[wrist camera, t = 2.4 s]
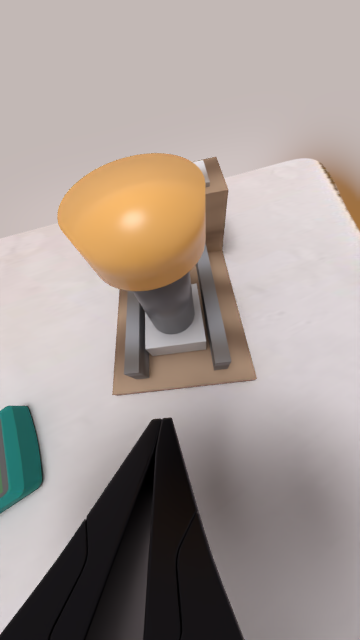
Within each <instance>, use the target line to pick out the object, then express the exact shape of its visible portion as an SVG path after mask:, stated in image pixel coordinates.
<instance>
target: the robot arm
mask: <svg viewBox="0 0 360 640" xmlns="http://www.w3.org/2000/svg"><path fill="white" fill-rule="evenodd" d="M0 640H244V638H243V635H242V633H241V630H240V627H239V625H238V622H237V620H236V617H235V615H234V612H233V609H232V607H231V604H230V602H229V599H228V597H227V594H226V592H225V589H224V586H223V584H222V581H221V578H220V576H219V573H218V570H217V567H216V565H215V562H214V559H213V556H212V553H211V550H210V547H209V544H208V541H207V537H206V534H205V531H204V528H203V524H202V521H201V517H200V514H199V511H198V507H197V504H196V500H195V497H194V493H193V490H192V486H191V483H190V479H189V476H188V472H187V469H186V465H185V462H184V458H183V455H182V451H181V448H180V445H179V441H178V438H177V434H176V431H175V427H174V424H173V420H172V418H163V419H153V420H152V421H151V422H150V423H149V425H148V426H147V428H146V429H145V431H144V432H143V434H142V435H141V437H140V438H139V440H138V441H137V443H136V444H135V446H134V447H133V449H132V450H131V452H130V453H129V455H128V456H127V458H126V459H125V460H124V462H123V463H122V465H121V466H120V468H119V469H118V471H117V472H116V474H115V475H114V477H113V478H112V480H111V481H110V483H109V484H108V486H107V487H106V489H105V490H104V492H103V493H102V495H101V496H100V498H99V499H98V500H97V502H96V503H95V505H94V506H93V508H92V509H91V511H90V512H89V514H88V515H87V520H86V519H85V520H84V521H83V523H82V524H81V526H80V527H79V528H78V530H77V531H76V533H75V534H74V536H73V537H72V539H71V540H70V542H69V543H68V544H67V546H66V547H65V549H64V550H63V552H62V553H61V554H60V556H59V557H58V559H57V560H56V562H55V563H54V564H53V566H52V567H51V568H50V570H49V571H48V572H47V574H46V575H45V576H44V578H43V579H42V580H41V582H40V583H39V584H38V586H37V587H36V588H35V590H34V591H33V592H32V594H31V595H30V596H29V598H28V599H27V600H26V602H25V603H24V604H23V606H22V607H21V608H20V609H19V611H18V612H17V613H16V615H15V616H14V617H13V619H12V620H11V621H10V623H9V624H8V625H7V626H6V628H5V629H4V630H3V632H2V633H1V634H0Z"/></svg>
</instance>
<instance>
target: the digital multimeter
mask: <svg viewBox="0 0 360 640" xmlns="http://www.w3.org/2000/svg"><path fill="white" fill-rule="evenodd" d="M41 483H42V472H41V462H40V454H39V446H38V441H37V436H36V432H35V428H34V424H33V421H32V418H31V415H30V412H29V409H28V407H27V406H7V407H5V408H4V409H2V410H1V411H0V513H2V512H3V511H5V510H6V509H8V508H9V507H11V506H12V505H14V504H15V503H17V502H18V501H20V500H21V499H23V498H24V497H26V496H27V495H29V494H30V493H32V492H33V491H35V490H36V489H38V488H39V487H40V485H41Z"/></svg>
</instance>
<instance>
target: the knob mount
mask: <svg viewBox="0 0 360 640" xmlns="http://www.w3.org/2000/svg"><path fill="white" fill-rule="evenodd" d="M193 163H194V164H195V165H196V166H197V167H199V169H200V170H201V171H202V173H203V175H204V178H205V214H206V240H205V247H204V251H203V253H202V256H201V258H200V259H199V261H198V262H197V264H196V265H195V266H194V267H193V268H192V269H191V270H190V278H191V284H196V283H197V289H198V295H199V301H200V307H201V313H202V319H203V325H204V331H205V337H206V350H198V351H190V352H182V353H174V354H166V355H158V356H152V355H151V354H150V353H149V352H148V351H147V350H146V349H145V311H144V309H143V307H142V306H141V304H140V303H139V301H138V300H137V298H136V296H135V295H134V293H133V292H132V291H126V290H122V289H120V292H119V307H118V321H117V336H116V350H115V365H114V379H113V394H112V395H126V394H135V393H144V392H153V391H162V390H171V389H180V388H189V387H197V386H206V385H215V384H224V383H233V382H242V381H251V380H255V379H257V378H256V374H255V370H254V367H253V363H252V359H251V355H250V352H249V348H248V344H247V341H246V337H245V333H244V330H243V326H242V322H241V318H240V315H239V311H238V307H237V304H236V300H235V296H234V293H233V289H232V285H231V282H230V278H229V274H228V270H227V267H226V263H225V259H224V256H223V252H222V246H223V236H224V226H225V216H226V207H227V197H228V188H227V185H226V182H225V180H224V177H223V174H222V172H221V169H220V166H219V163H218V161H217V158H216V157H213V158H208V159H204V160H199V161H194V162H193Z"/></svg>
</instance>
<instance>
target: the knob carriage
mask: <svg viewBox="0 0 360 640" xmlns="http://www.w3.org/2000/svg"><path fill="white" fill-rule="evenodd" d="M58 224H59V226H60V228H61V230H62V231H63V233H64V234H65V235H66V236H67V238H68V239H69V240H70V241H71V243H72V244H73V245H74V246H75V247H76V249H77V250H78V251H79V252H80V254H81V255H82V256H83V257H84V259H85V260H86V261H87V262H88V263H89V265H90V266H91V267H92V268H93V270H94V271H95V272H96V273H97V274H98V276H99V277H100V278H101V279H102V280H103V281H104V282H106V283H107V284H109V285H110V286H113V287H115V288H118V289H122V290H126V291H132V292H133V293H134V295H135V296H136V298H137V300H138V301H139V303H140V304H141V306H142V307H143V309H144V311H145V349H146V350H147V351H148V352H149V353H150V354H151V355H152V356H158V355H166V354H174V353H182V352H190V351H198V350H206V337H205V331H204V325H203V319H202V313H201V307H200V301H199V295H198V289H197V283H196V284H191V278H190V270H191V269H192V268H193V267H194V266H195V265H196V264H197V262H198V261H199V259H200V258H201V256H202V253H203V251H204V247H205V240H206V214H205V178H204V175H203V173H202V171H201V170H200V169H199V167H197V166H196V165H195V164H194V163H193V162H191V161H189V160H187V159H185V158H183V157H179V156H176V155H171V154H161V153H151V154H140V155H135V156H130V157H126V158H122V159H119V160H116V161H113V162H110V163H108V164H106V165H103V166H102V167H99V168H98V169H95V170H94V171H92V172H90V173H89V174H87V175H86V176H84V177H83V178H82V179H80V180H79V181H78V182H77V183H76V184H74V185H73V186H72V187H71V189H70V190H69V191H68V192H67V194H66V195H65V196H64V198H63V200H62V201H61V203H60V206H59V209H58Z"/></svg>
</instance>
